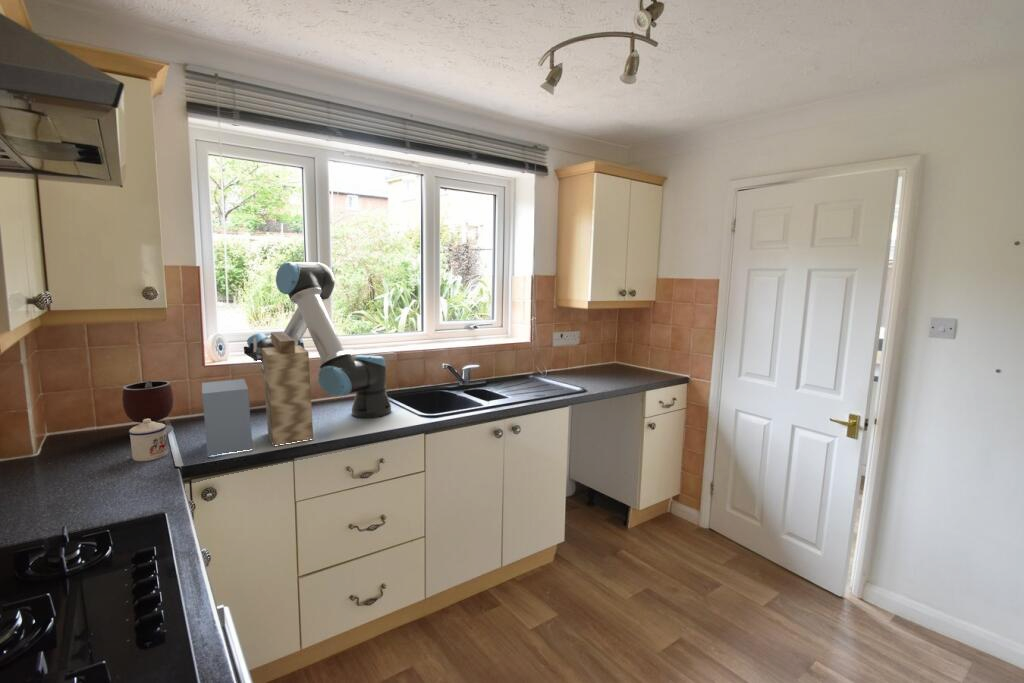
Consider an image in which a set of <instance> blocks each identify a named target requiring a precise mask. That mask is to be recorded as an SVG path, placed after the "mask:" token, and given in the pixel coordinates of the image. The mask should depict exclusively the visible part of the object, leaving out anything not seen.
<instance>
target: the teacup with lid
mask: <svg viewBox="0 0 1024 683" xmlns="http://www.w3.org/2000/svg"><path fill="white" fill-rule="evenodd" d="M166 426H167V425H166V424H164V423H162V422H153V421H151V419H144V420H143V423H139V424H137V425H135V426H133V427H131V428H130V429H129V431H128V434H129V438H130V445H131V447H130V448H131V455H132V460H133V461H135V462H150V461H155V460H158V459H161V458H163V457H165V456H166V455H168V453H169V452H168V441H167V437H168V434H167V430H166Z"/></svg>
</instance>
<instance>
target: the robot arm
mask: <svg viewBox="0 0 1024 683" xmlns="http://www.w3.org/2000/svg"><path fill="white" fill-rule="evenodd" d="M335 282H336V281H335V276H334V273H333V271H332V269H331V268H330V267H329V266H328V265H326V264H324V263H321V262H317V261H315V262H310V261H309V262H297V261H291V262H289V261H287V262H284V263H282V264H281V265H280V266H279V268H278V269H277V271H276V275H275V283H276V287H277V288H276V289H278V291H279V292H280V293H281V294H283V295H288V297H289V300H290V301H291V303H293V304H296V305H297V308H296V309H295V311H294V313H293V315H292V316H291V318H290V320H289V322H288V324H287V325H286V327H285V329H284V331H283V332H284V333H285V334H287V335H288V336H289V337H290V338H292V339H293V340H294V342H295V346H297V345H300V346H302V347H303V348H304V349H305V343H304V340H303V337H304V335H305V333H306V331H307V330H308V332H309V336H310V337H311V338H312V342H313V343H314V346H315V348H316V350H317V353H318V356H319V358H320V359H321V363H320V364H319V368H320V370H319V371H318V374H317V376H318V378H317V379H318V380H317V381H318V384H319V386H320V388H321V389H322V391H323V392H324V393H325V394H327V395H328V396H331V397H333V398H334V397H335V398H336V397H343V396H347V395H349V394H352V393H355V396H354V400H353V402H352V406H351V415H352V416H353V417H356V418H360V419H361V418H363V419H369V418H370V419H371V418H378V417H383V416H386V415H389V414H391V413H392V404H391V401H390V400H389V397H388V394H387V381H386V379H387V377H386V375H387V374H386V373H387V371H386V368H387V366H386V360H385V357H383V356H381V355H372V354H357V355H354V358H353V357H352V355H351V353H349V352H346V351H345V350H344V348H343V345H342V343H341V341H340V337H338V334H337V332H336V329H335V327H334V325H333V323H332V321H331V318H330V316H329V314H328V311H327V309H326V307H325V305H324V302H325V301H326V300H329V298H330V296H331V294H332V293H333V291H334V288H335ZM246 343H247V345H246V346H243V353H244V355H246V356H248V357H249V358H251V359H253V362H254V361H255V362H256V361H257V360H261V361H262V362H261V371H262V373H263V374H264V369H263V354H262V348H269V347H274V345H273V344H272V343H271V337H268V336H267V335H266V334H265V333H264V332H263V333H262V332H259V333H255V334H253V335H251V336H249V337H248V338H247V340H246Z"/></svg>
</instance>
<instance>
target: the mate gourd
mask: <svg viewBox="0 0 1024 683" xmlns="http://www.w3.org/2000/svg"><path fill="white" fill-rule="evenodd" d="M122 389H123V390H122V407H123V410H124V414H125V415H126V417H127V418H129V419H130V420H131V421H132V422H135V423H139V424H141V423H143V420H144V419H151V421H153V422H156V423H158V422H160V421H161V420H163V419H165V418H167V417H168V416H169V414H170V413H171V411H172V410H173V406H174V395H173V390H172V386H171V383H170V381H168V380H147V381H141V382H140V381H139V382H135V383H131V384H126V385H124V386H123V388H122ZM165 426H166V430H167V433H169V432H171V431H172V430H173V431H174V427H173V426H170V425H165ZM173 431H172V432H173ZM172 432H171V433H172ZM169 434H170V433H169Z"/></svg>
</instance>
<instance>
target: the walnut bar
mask: <svg viewBox="0 0 1024 683" xmlns="http://www.w3.org/2000/svg"><path fill="white" fill-rule="evenodd" d="M270 338H271V343H272V344H273V345H274V347H275V348H276V349H277V350H278V351H279V352H280V353H281V354H287V353H295V342H294V340H293V339H292V338H290V337H289V336H288V335H287V334H285V333H284V331H273V332H272V331H271V332H270Z"/></svg>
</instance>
